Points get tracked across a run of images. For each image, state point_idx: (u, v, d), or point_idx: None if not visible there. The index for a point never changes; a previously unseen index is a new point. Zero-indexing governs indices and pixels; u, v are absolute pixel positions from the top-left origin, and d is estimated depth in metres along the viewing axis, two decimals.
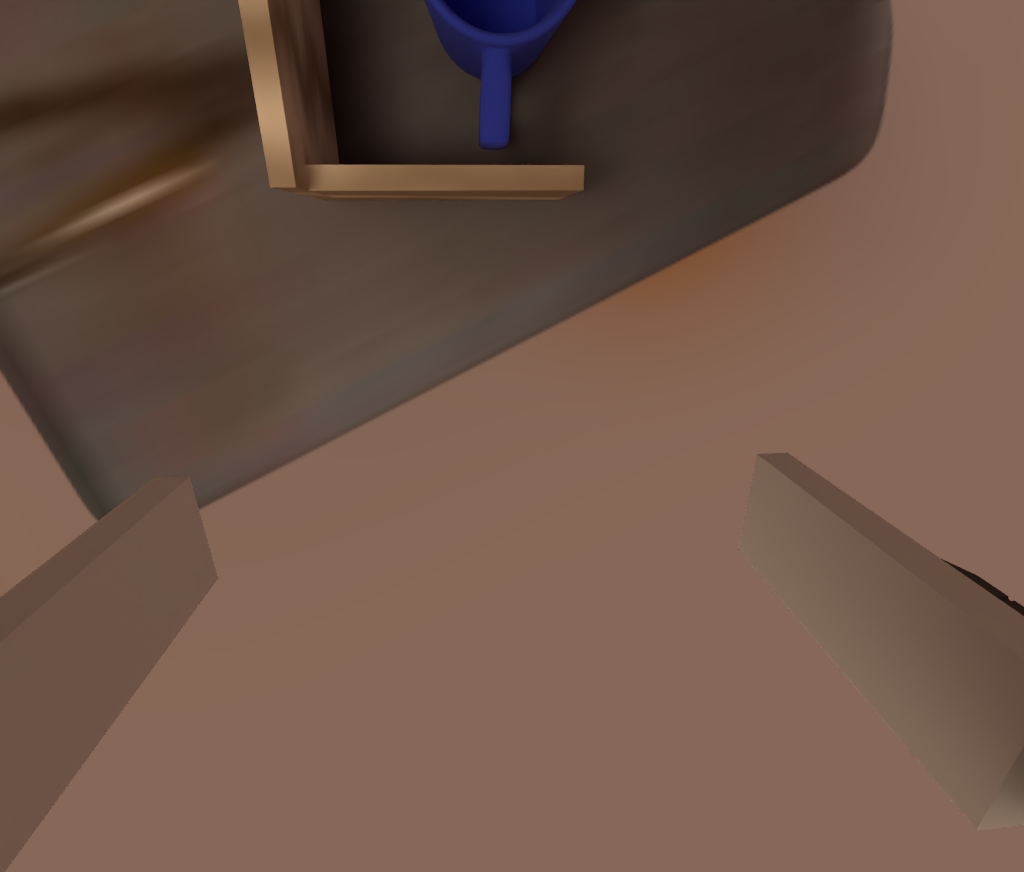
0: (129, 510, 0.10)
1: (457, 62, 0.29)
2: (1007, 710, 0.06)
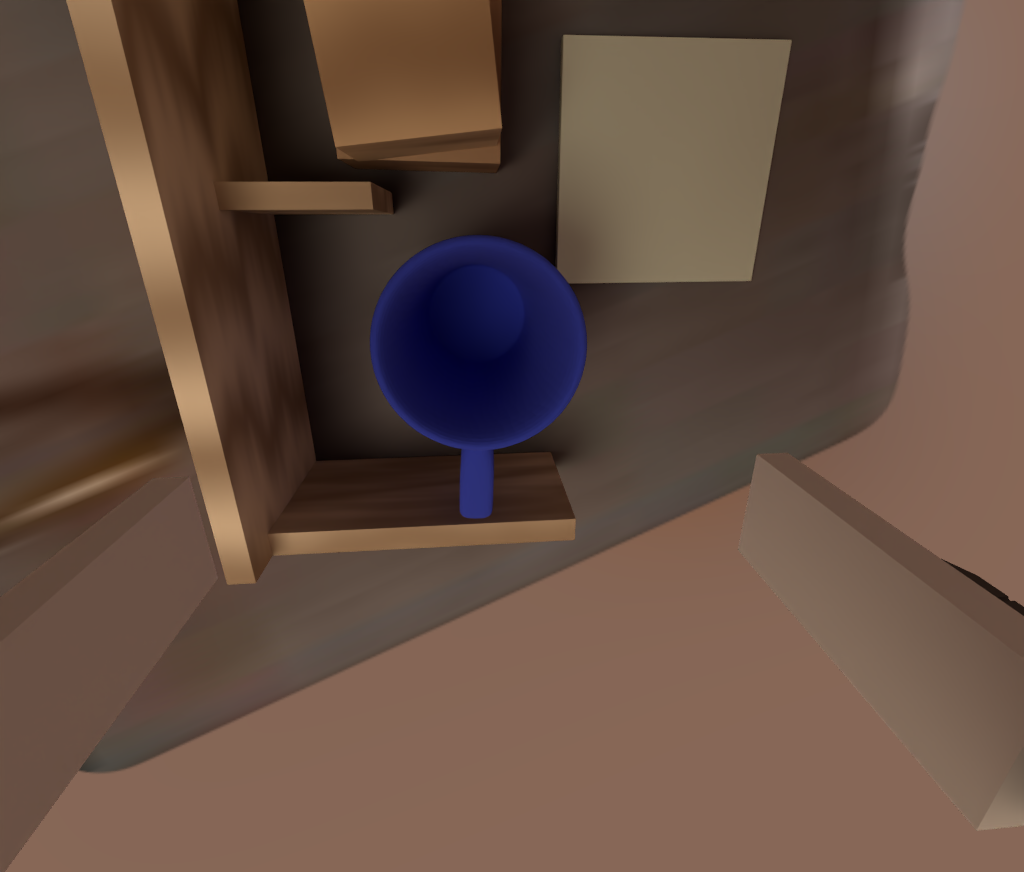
0: (129, 510, 0.10)
1: None
2: (1007, 710, 0.06)
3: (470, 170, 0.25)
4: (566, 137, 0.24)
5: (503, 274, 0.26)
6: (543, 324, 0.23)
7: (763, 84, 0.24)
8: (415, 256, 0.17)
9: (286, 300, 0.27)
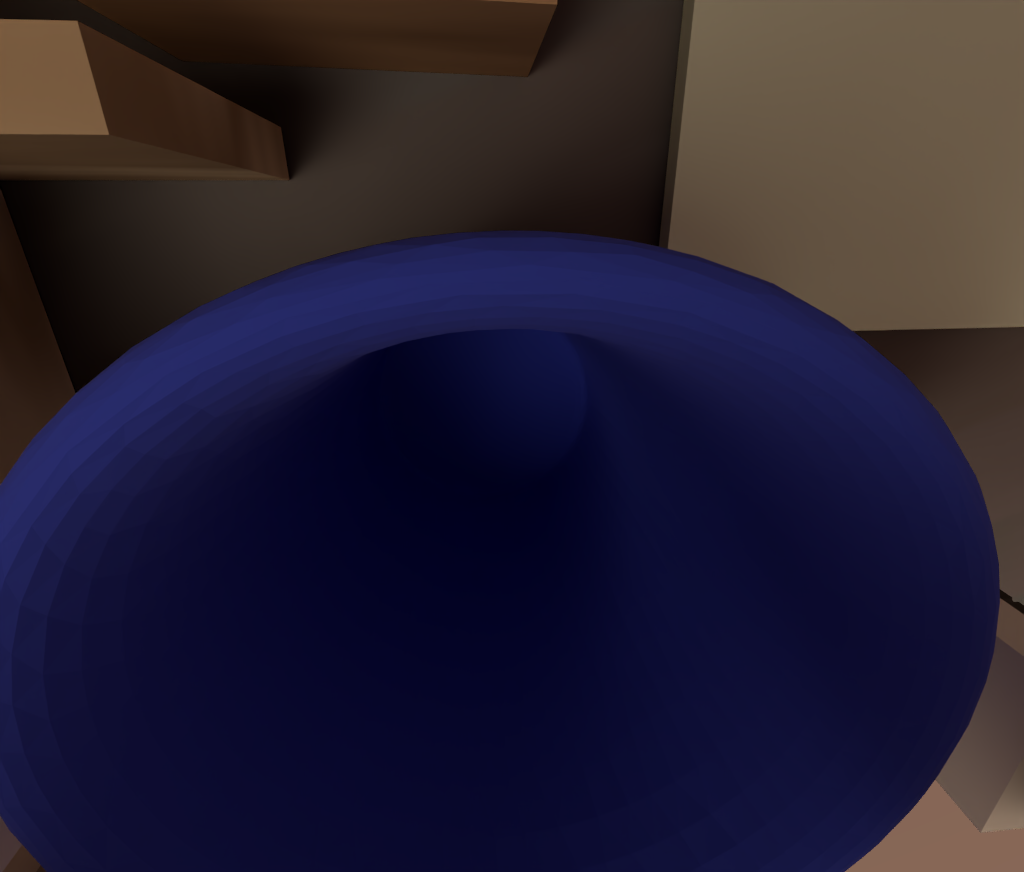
0: None
1: None
2: (1011, 712, 0.06)
3: (466, 63, 0.10)
4: None
5: None
6: (672, 478, 0.08)
7: None
8: (110, 371, 0.03)
9: (58, 376, 0.12)
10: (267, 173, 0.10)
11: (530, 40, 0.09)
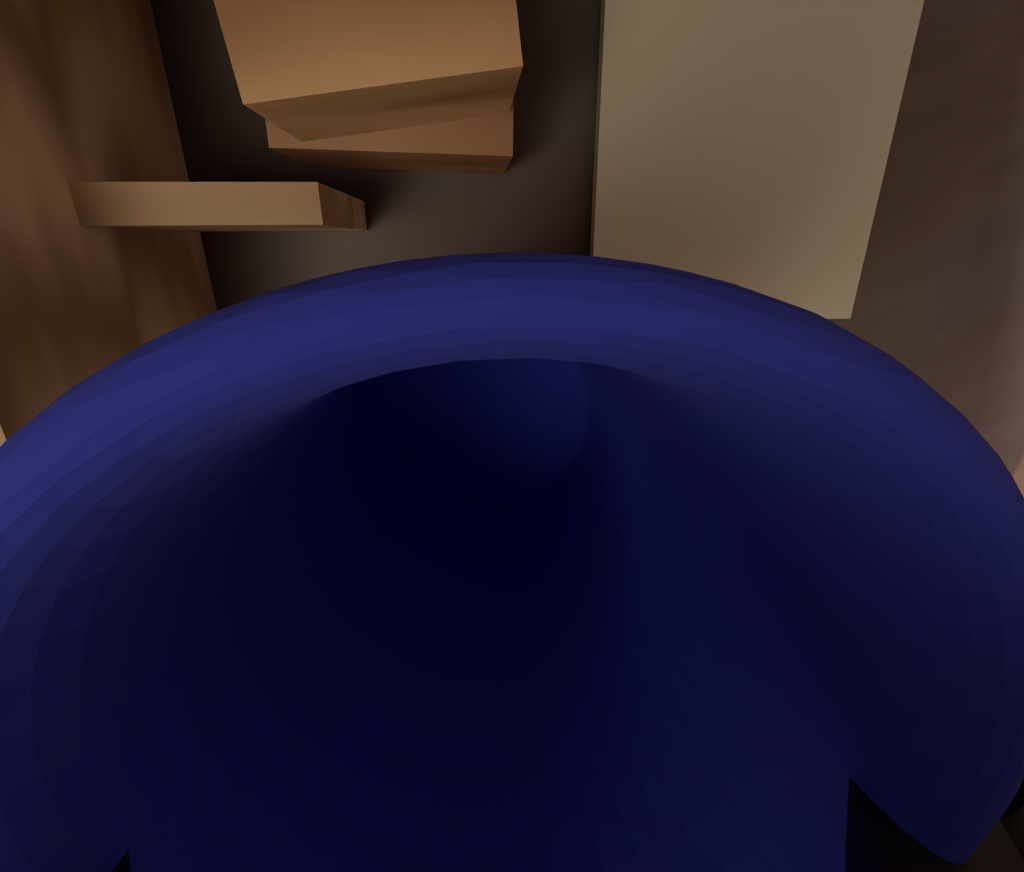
0: None
1: None
2: None
3: (468, 169, 0.18)
4: (607, 124, 0.17)
5: None
6: (681, 500, 0.08)
7: (884, 49, 0.17)
8: (43, 417, 0.02)
9: None
10: (359, 229, 0.17)
11: (502, 164, 0.16)
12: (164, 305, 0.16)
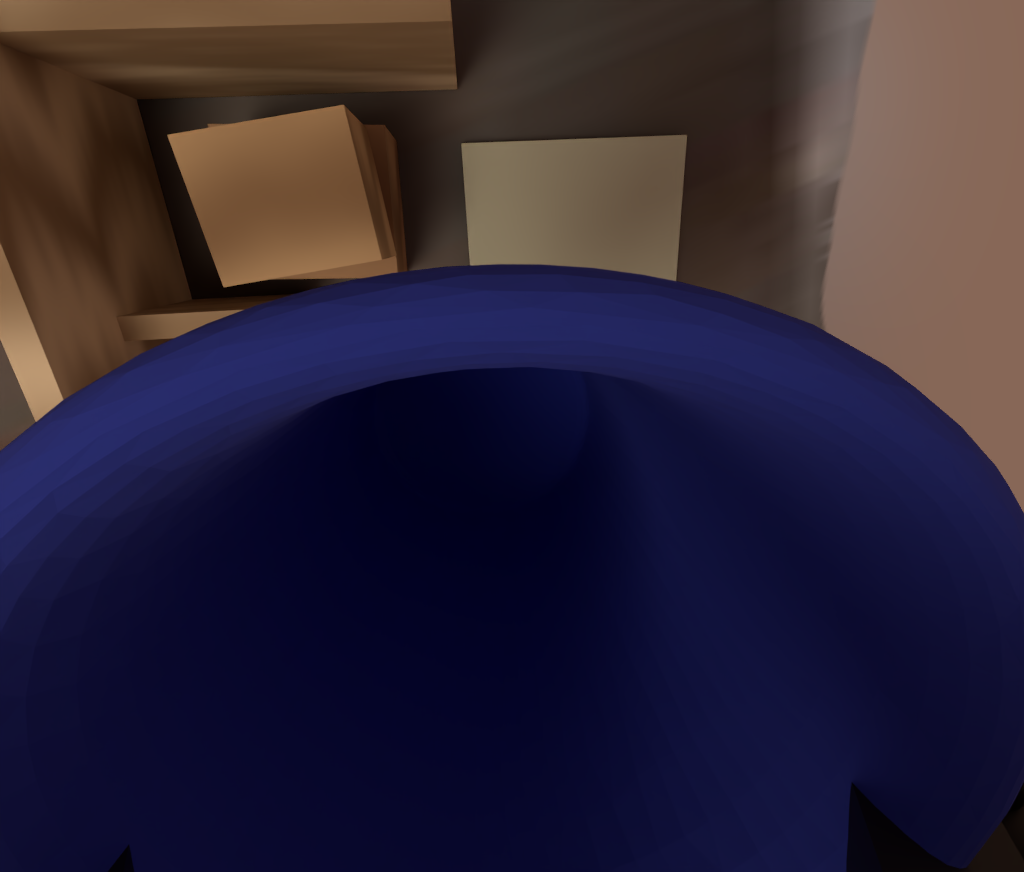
0: None
1: None
2: None
3: None
4: (473, 235, 0.25)
5: None
6: (680, 504, 0.08)
7: (663, 176, 0.25)
8: (35, 430, 0.02)
9: None
10: None
11: None
12: None
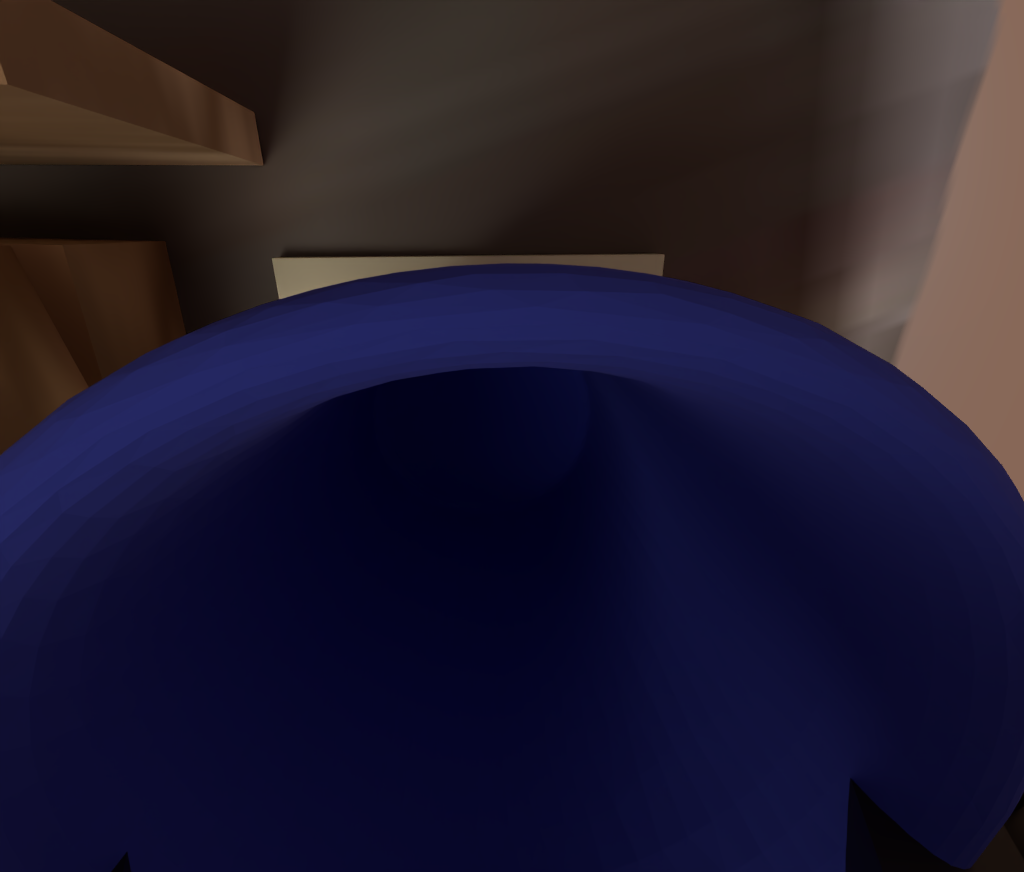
0: None
1: None
2: None
3: None
4: None
5: None
6: (682, 504, 0.08)
7: None
8: (39, 430, 0.02)
9: None
10: None
11: None
12: None
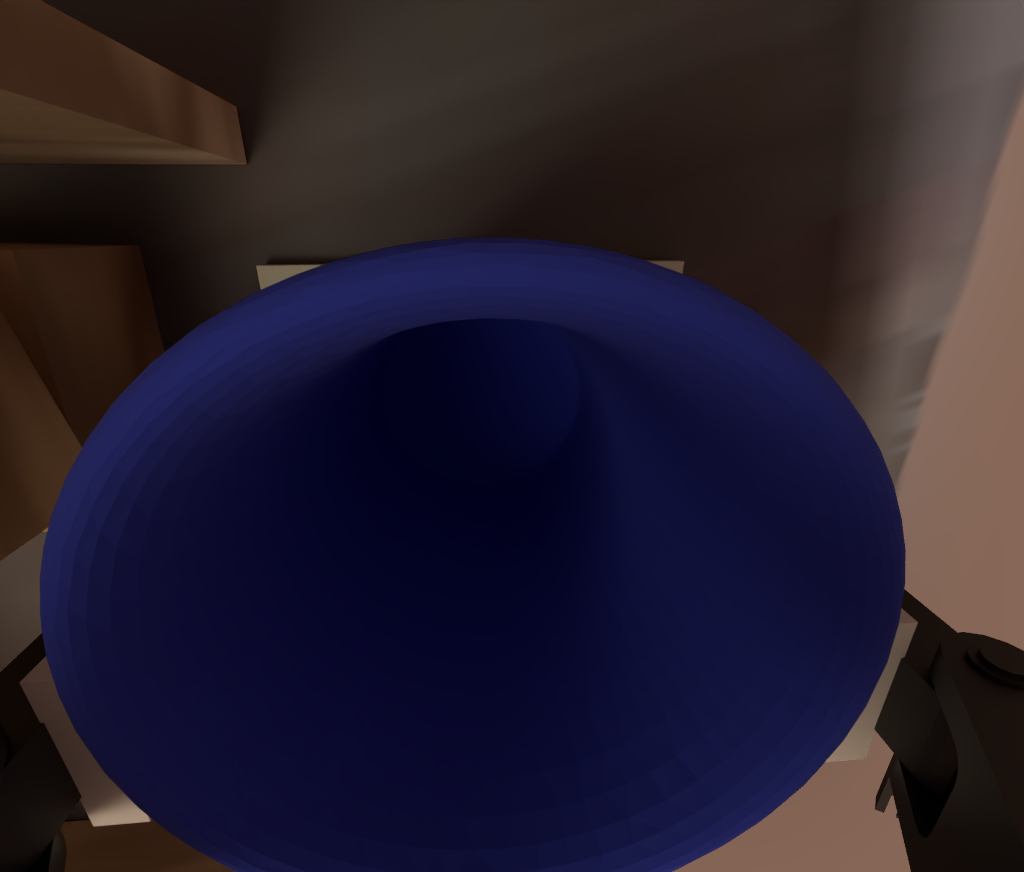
0: None
1: None
2: None
3: None
4: None
5: None
6: (652, 463, 0.09)
7: None
8: (183, 342, 0.03)
9: None
10: None
11: None
12: None
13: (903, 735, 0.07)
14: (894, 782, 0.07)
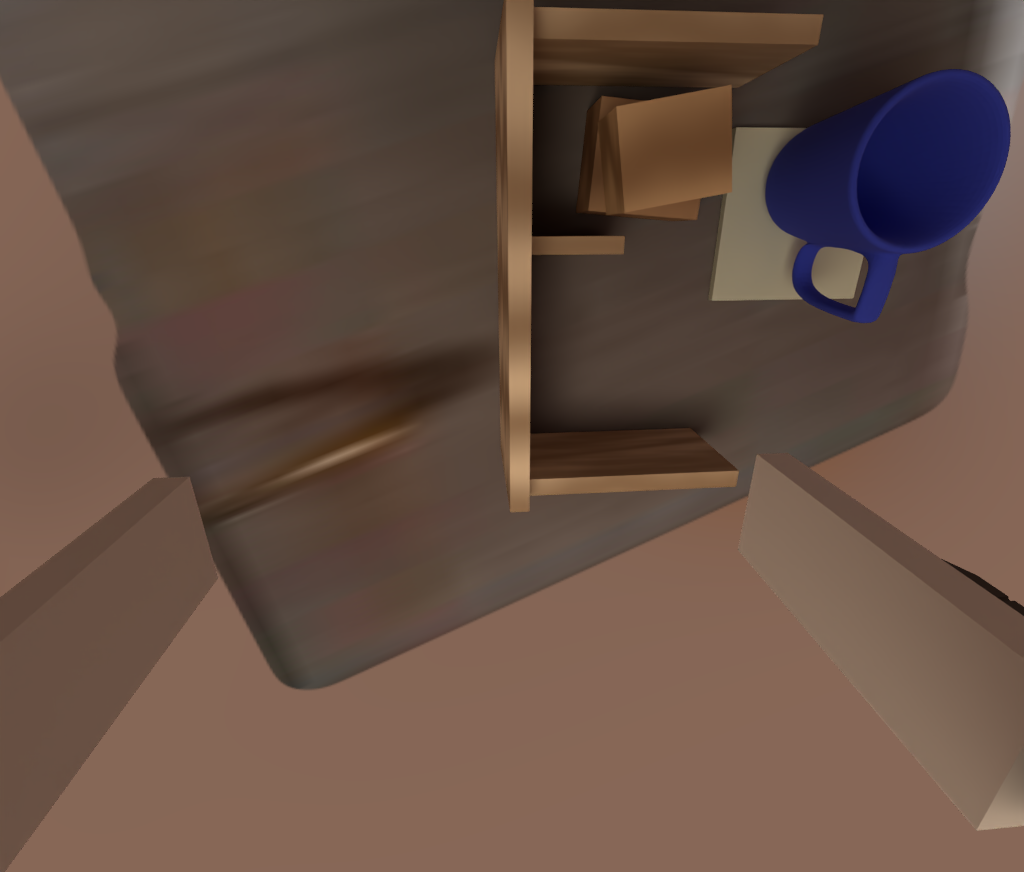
0: (129, 510, 0.10)
1: (788, 228, 0.33)
2: (1007, 710, 0.06)
3: (659, 219, 0.34)
4: (730, 196, 0.34)
5: None
6: (916, 171, 0.29)
7: None
8: (910, 84, 0.24)
9: None
10: None
11: (683, 220, 0.33)
12: None
13: None
14: None
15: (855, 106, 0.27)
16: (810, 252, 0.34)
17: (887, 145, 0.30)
